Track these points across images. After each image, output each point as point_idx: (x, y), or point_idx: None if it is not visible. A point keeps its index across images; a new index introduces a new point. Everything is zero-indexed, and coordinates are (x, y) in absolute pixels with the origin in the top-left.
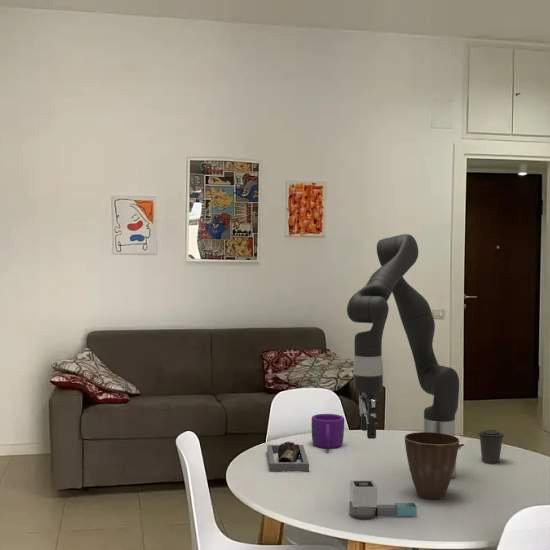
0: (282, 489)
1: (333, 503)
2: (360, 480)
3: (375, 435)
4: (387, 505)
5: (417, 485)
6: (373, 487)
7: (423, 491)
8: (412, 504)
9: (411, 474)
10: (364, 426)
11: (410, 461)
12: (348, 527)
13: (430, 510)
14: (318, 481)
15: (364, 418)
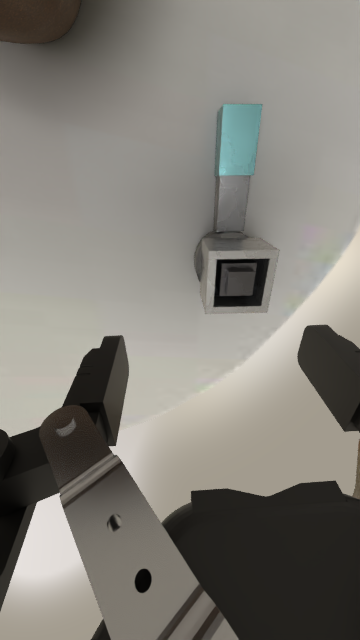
0: None
1: (150, 308)
2: (207, 287)
3: (332, 333)
4: (225, 199)
5: (58, 32)
6: (277, 260)
7: (75, 12)
8: (238, 115)
9: (17, 41)
10: (123, 374)
11: (8, 22)
12: (288, 294)
13: (200, 34)
14: (3, 326)
15: (114, 420)
